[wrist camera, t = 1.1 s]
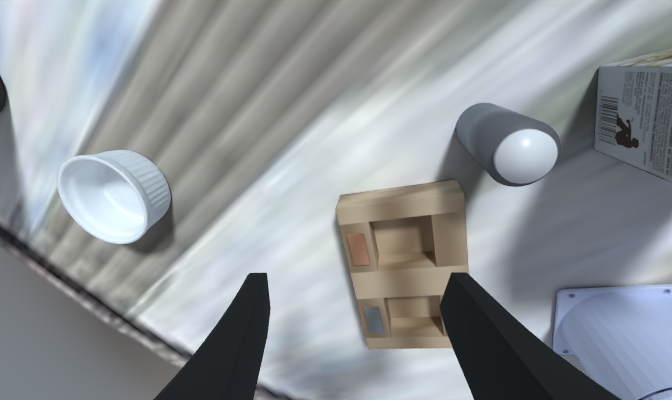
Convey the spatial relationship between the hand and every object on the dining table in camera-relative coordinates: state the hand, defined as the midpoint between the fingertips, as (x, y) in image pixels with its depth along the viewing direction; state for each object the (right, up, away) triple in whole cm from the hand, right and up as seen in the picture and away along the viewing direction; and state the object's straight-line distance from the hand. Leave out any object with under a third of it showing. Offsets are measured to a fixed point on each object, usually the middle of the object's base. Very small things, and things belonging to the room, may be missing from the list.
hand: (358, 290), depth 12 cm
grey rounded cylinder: (+10, +9, +11) cm, 18 cm away
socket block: (+6, -3, +17) cm, 18 cm away
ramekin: (-22, +5, +19) cm, 29 cm away
